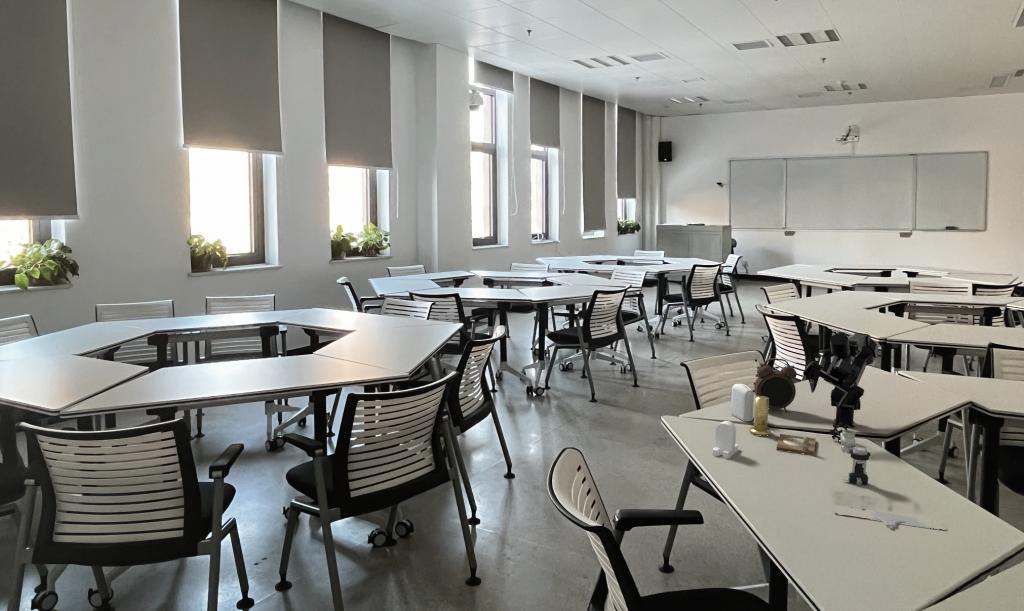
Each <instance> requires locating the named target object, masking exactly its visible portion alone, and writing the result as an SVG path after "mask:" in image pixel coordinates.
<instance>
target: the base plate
mask: <svg viewBox="0 0 1024 611" xmlns="http://www.w3.org/2000/svg"><path fill="white" fill-rule="evenodd" d="M815 449H816V438H815V437H809V436H801V435H799V436H798V435H791V434H785V433H780V434H779V436H778V441H777V445H776V449H775V450H776V451H779V450H782V451H781V452H787V451H790V452H789V453H794V452H796V453H795V454H801V453H804V454H803V455H808V454H809V455H810V456H815Z"/></svg>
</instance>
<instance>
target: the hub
mask: <svg viewBox="0 0 1024 611" xmlns="http://www.w3.org/2000/svg"><path fill="white" fill-rule="evenodd" d="M768 406H769V398H768V397H766V396H756V395H755V396H754V409H753V426H751V427H749V429H748V430H749V431H748V432H750V433H751V434H750V433H749V434H750V435H752V434H753V435H752V436H756V435H761V436H760V437H768V436H767V435H770V434H771V435H772V430H771V429H770V428H769V427H768V422H769V421H768V420H769V419H768V418H769V408H768ZM771 435H770V436H771Z"/></svg>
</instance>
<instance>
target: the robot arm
mask: <svg viewBox="0 0 1024 611" xmlns="http://www.w3.org/2000/svg"><path fill="white" fill-rule="evenodd" d="M829 344H830V350H831V355H832V356H833V357H832V360H831V363H830V364H829V366H828V369H827V371H824V370H823V368H824V366H823V365H822V364H819V363H818V362H816V361H814V360H812V361H810V362H809V363H808V365H806V367H805V368H804V369H803V372H802V374H803V375H804V376H805V378H806V379H807V380H808V382H809V386H810V391H811V392H810V393H812V394H813V393H815V390H816V388H817V385H818V381H819V380H820V379H819V378H821V379H823V381H825V382H826V383H828V384H830V385H832V386H834V388H833V389H831V391H830V406H831V407H836V409H835V410H836V411H835V418H834V419H833V420H834V421H833V424H836V426H838V425H839V422H842V423H843V426H845V425H848V426H853V427H852V428H855V420H854V415H855V411H860V410H861V407H862V406H861V404H862V403H861V398H862V397H863V396H864V393H865V389H864V388H862V387H861V386H859V383H860V381H861V378H862V377H863V374H864V372H865V370H866V367H867V366H869V365H872V364H873V363H874V362H875V360H876V359H877V358H878V356H879V348H878V343H877V342H876V341H875V340H874V339H872V338H871V335H870V334H869V333H864V332H863V333H862V332H854V334H853V335H852V336H851V337H849V336H847V334H846V332H843V331H839V332H838V333H835V334H832V336H830V337H829Z"/></svg>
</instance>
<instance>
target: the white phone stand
mask: <svg viewBox="0 0 1024 611" xmlns="http://www.w3.org/2000/svg"><path fill="white" fill-rule="evenodd" d="M736 436H737V428H736V425H735V424H734V423H733V422H732V421H731V420H724V421H721V423H719V424H718V425H717V426H716V428H715V439H714V440H715V441H714V447H713V448H712V450H711V452H712V453H711V456H713V457H718V456H719V455H721V456H722V459H727V460H728V459H730V458H732V456H733V455H734V454H735V453H737V452H738V451H739V444H738V443H736V442H737V441H736V438H737V437H736Z"/></svg>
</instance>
